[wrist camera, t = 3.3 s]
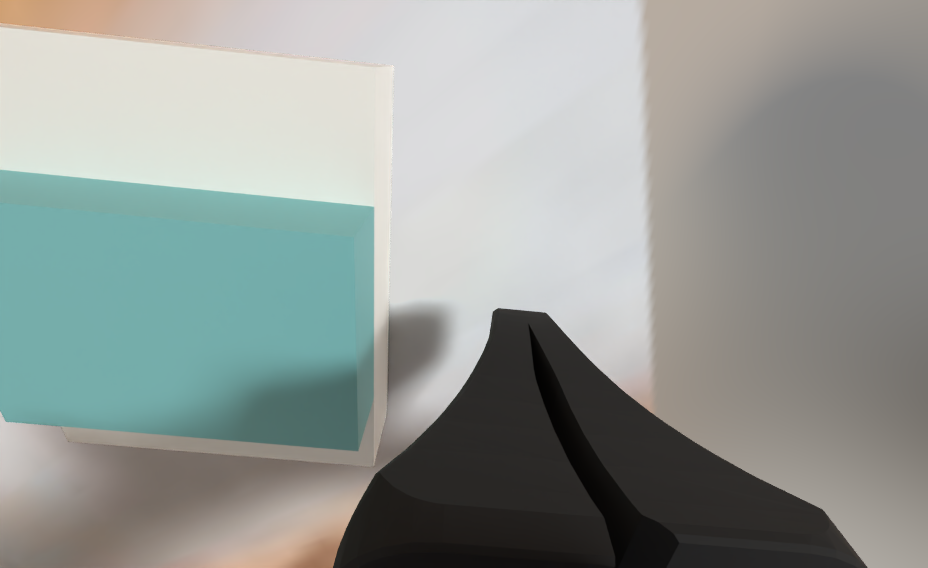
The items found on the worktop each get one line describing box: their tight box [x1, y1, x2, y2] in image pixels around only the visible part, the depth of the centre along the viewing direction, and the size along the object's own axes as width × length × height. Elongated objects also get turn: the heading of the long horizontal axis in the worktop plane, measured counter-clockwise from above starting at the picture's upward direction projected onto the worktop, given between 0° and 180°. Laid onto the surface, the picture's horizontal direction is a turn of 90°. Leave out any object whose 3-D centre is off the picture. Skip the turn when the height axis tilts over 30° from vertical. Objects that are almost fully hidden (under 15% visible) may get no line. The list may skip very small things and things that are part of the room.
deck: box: [0, 23, 394, 467], centre depth 13 cm, size 12×10×2 cm
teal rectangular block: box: [0, 170, 374, 451], centre depth 11 cm, size 6×9×2 cm, turn 85°
